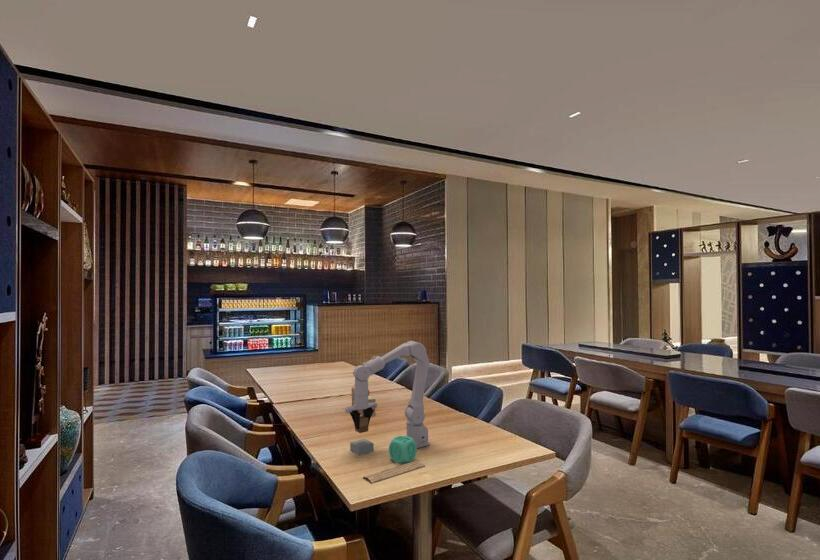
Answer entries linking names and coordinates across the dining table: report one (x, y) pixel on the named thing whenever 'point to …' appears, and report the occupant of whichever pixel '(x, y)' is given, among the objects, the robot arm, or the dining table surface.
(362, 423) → the walnut block
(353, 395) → the stack of blocks
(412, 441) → the decorative dice
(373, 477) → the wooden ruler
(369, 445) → the pedestal block
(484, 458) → the dining table surface
